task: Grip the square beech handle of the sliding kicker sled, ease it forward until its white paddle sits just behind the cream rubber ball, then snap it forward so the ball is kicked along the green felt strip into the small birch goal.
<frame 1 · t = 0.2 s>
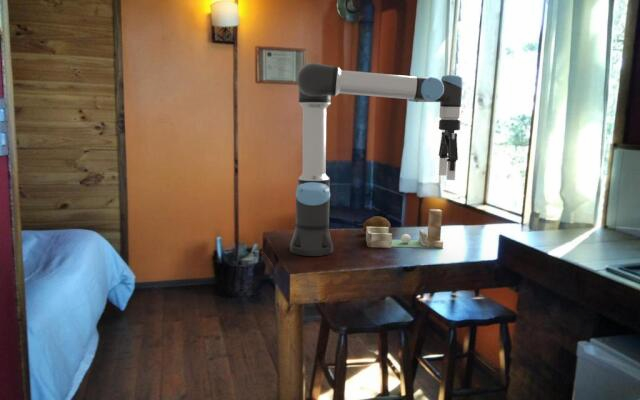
hand: (446, 177, 190), 26 cm above the table, fingers open, 13 cm apart
ball: (405, 238, 195), point 2 cm above the table, touching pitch
kicker: (431, 226, 194), point 7 cm above the table, slide at 0.0 cm
goal: (378, 243, 195), resting on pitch
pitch: (405, 243, 195), on the table
potato: (376, 235, 209), on the table
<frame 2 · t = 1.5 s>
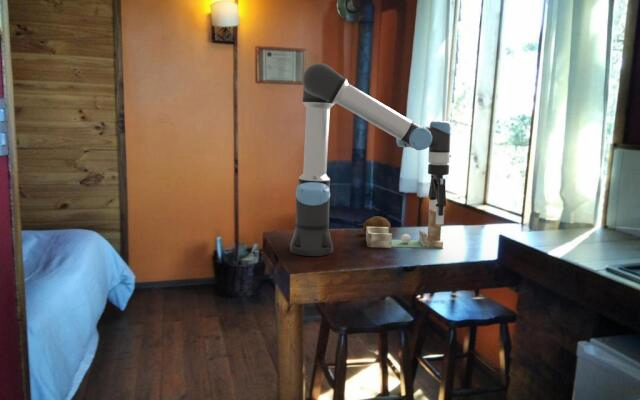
hand: (435, 220, 193), 10 cm above the table, fingers open, 13 cm apart
nothing on the table moved.
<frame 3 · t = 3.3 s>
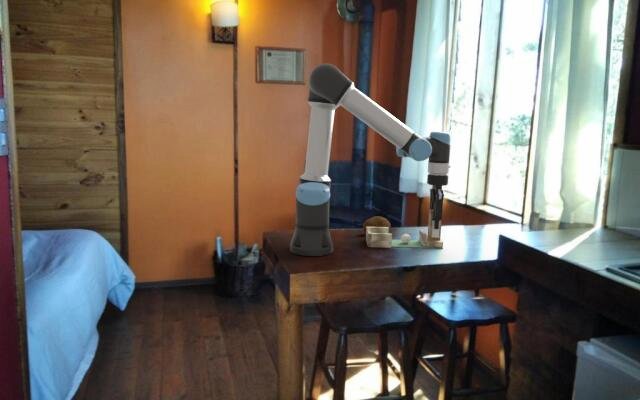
hand: (433, 235, 194), 4 cm above the table, fingers closed on kicker, 4 cm apart
kicker: (431, 226, 194), point 7 cm above the table, slide at 0.0 cm, touching gripper
everything else where it was.
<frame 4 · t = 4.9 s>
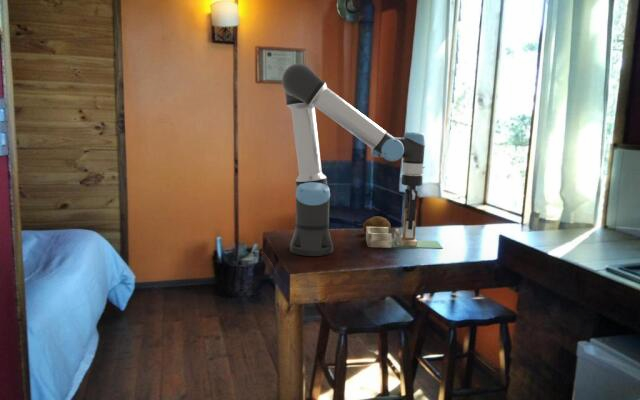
hand: (408, 235, 195), 3 cm above the table, fingers closed on kicker, 4 cm apart
ball: (384, 238, 195), point 2 cm above the table, tilted 142°, touching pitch
kicker: (406, 226, 194), point 7 cm above the table, slide at 9.5 cm, touching gripper
everything else where it was.
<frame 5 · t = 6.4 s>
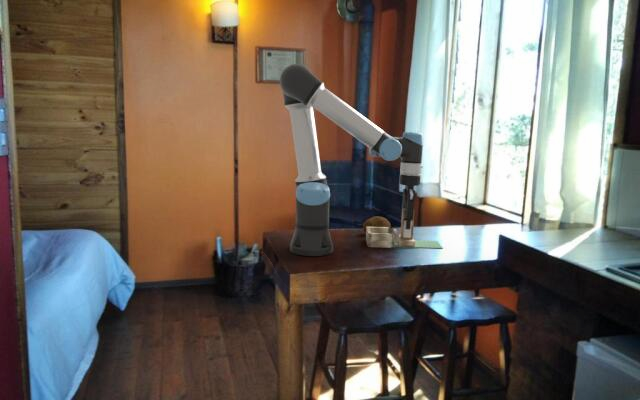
hand: (406, 235, 195), 3 cm above the table, fingers closed on kicker, 4 cm apart
ball: (377, 237, 195), point 2 cm above the table, tilted 51°, touching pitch
kicker: (404, 225, 194), point 7 cm above the table, slide at 10.2 cm, touching gripper
everything else where it was.
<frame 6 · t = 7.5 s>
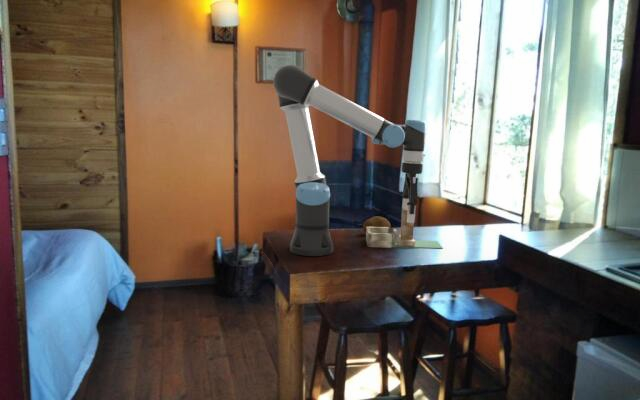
hand: (407, 218, 193), 10 cm above the table, fingers open, 13 cm apart
ball: (379, 237, 195), point 2 cm above the table, tilted 77°, touching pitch
kicker: (404, 225, 194), point 7 cm above the table, slide at 10.2 cm
everything else where it was.
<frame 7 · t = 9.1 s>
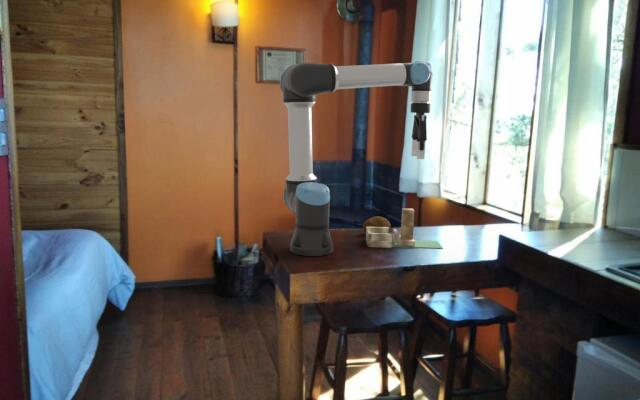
hand: (417, 157, 204), 32 cm above the table, fingers open, 13 cm apart
ball: (383, 238, 195), point 2 cm above the table, tilted 114°, touching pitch
everything else where it was.
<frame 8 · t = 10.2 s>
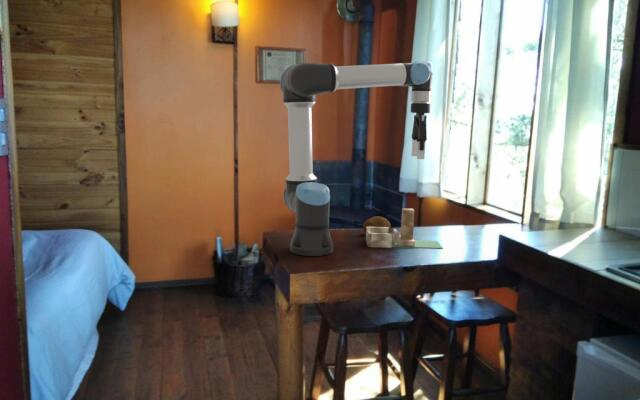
hand: (417, 157, 204), 32 cm above the table, fingers open, 13 cm apart
ball: (385, 238, 195), point 2 cm above the table, tilted 140°, touching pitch
everything else where it was.
at the end: ball inside the target area (1.8 cm from its centre), point 2.1 cm above the table; the gripper is holding nothing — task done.
